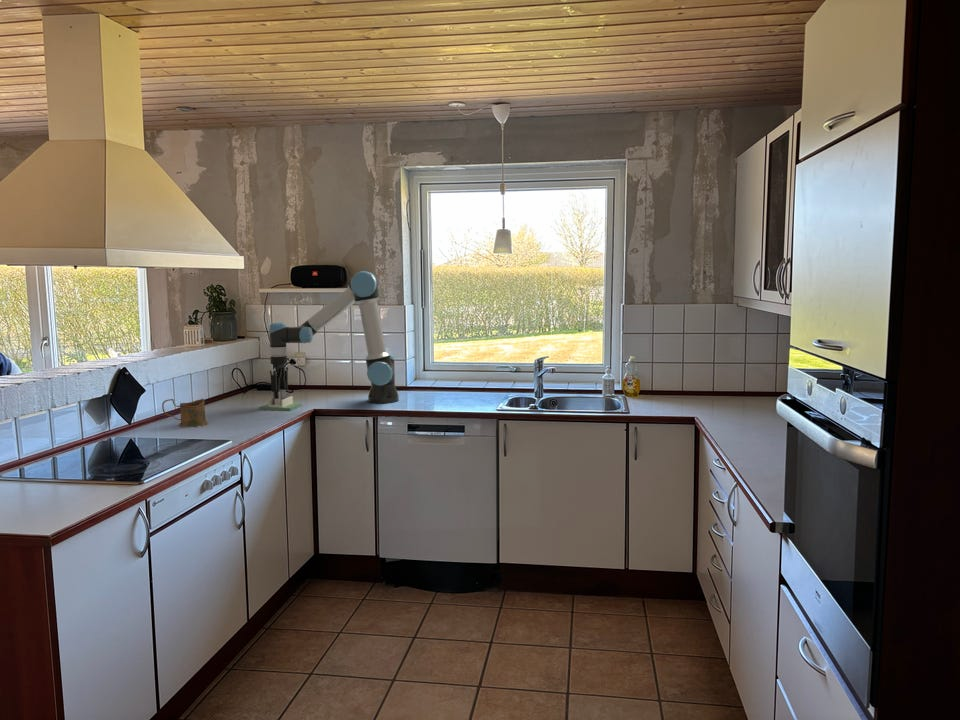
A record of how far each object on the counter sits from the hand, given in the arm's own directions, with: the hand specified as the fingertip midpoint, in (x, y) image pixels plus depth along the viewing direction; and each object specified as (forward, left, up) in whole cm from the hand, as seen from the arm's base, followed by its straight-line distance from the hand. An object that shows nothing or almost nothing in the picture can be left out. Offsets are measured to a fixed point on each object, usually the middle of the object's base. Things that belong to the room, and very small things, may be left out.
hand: (280, 404), depth 339 cm
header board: (0, 0, -2) cm, 2 cm away
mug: (+21, +43, -2) cm, 48 cm away
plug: (0, 0, 0) cm, 0 cm away
